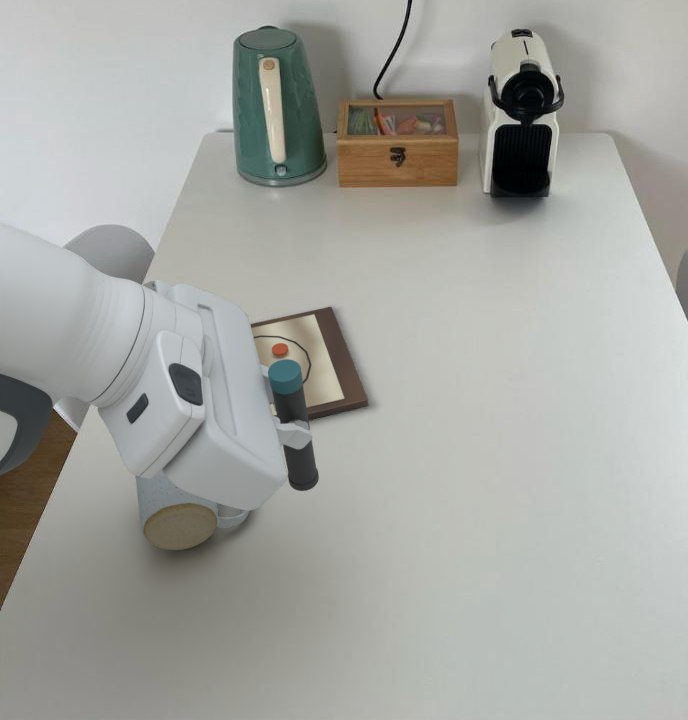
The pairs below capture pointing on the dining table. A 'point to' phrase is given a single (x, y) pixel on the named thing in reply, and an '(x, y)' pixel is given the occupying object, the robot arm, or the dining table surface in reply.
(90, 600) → the dining table surface
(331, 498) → the dining table surface
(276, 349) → the right eye
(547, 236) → the dining table surface
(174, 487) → the ceramic mug
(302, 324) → the brown framed board
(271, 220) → the dining table surface
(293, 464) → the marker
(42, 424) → the robot arm
